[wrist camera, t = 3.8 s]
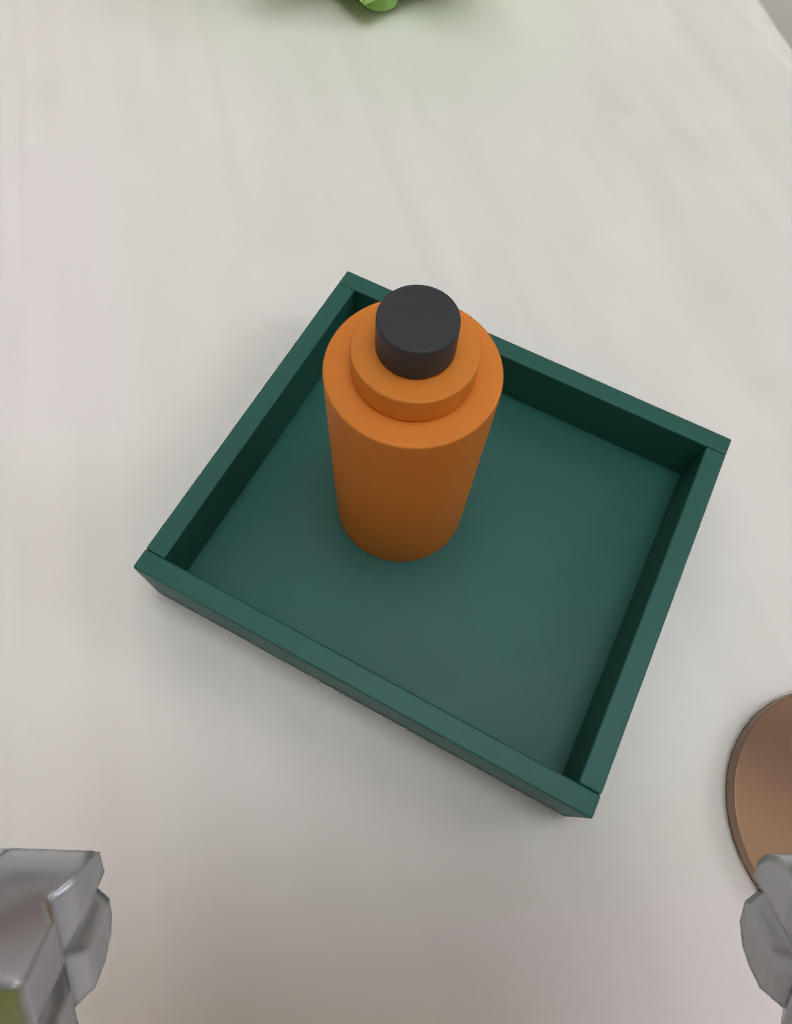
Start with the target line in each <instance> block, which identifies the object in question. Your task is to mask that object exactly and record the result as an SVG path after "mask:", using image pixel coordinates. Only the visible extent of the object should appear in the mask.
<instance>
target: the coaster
mask: <svg viewBox="0 0 792 1024" xmlns="http://www.w3.org/2000/svg"><path fill="white" fill-rule="evenodd" d="M726 793H727V809H728V815H729V822H730V826H731V830H732V833H733V837H734V841H735V843H736V846H737V848H738V851H739V854H740V856H741V859H742V861H743V863H744V865H745V867H746V868H747V870H748V872H749V874H750V876H751V878H752V879H753V881H754V882H755V884H756V885H757V887H758V889H761V888H760V887H759V885H758V883H757V882H756V880H755V878H754V876H753V874H754V871H755V868H756V865H757V862H758V860H759V859H760V858H762V857H763V856H764V855H765V854H788V853H792V694H791V695H787V696H785V697H782V698H780V699H778V700H776V701H774V702H772V703H771V704H769V705H768V706H766V707H765V708H763V709H762V710H761V711H760V712H759V713H757V714H756V715H755V716H754V717H753V718H752V719H751V721H750V722H749V723H748V724H747V726H746V727H745V728H744V730H743V732H742V733H741V735H740V737H739V739H738V740H737V742H736V745H735V748H734V750H733V753H732V756H731V760H730V764H729V768H728V775H727V786H726Z"/></svg>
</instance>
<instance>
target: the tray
mask: <svg viewBox="0 0 792 1024" xmlns="http://www.w3.org/2000/svg"><path fill="white" fill-rule="evenodd" d="M391 292H392V290H389V289H387V288H385V287H382V286H380V285H378V284H376V283H373V282H371V281H369V280H367V279H364V278H362V277H360V276H357V275H355V274H353V273H351V272H347V273H346V274H345V276H344V277H343V278H342V280H341V281H340V282H339V284H338V285H337V287H336V288H335V289H334V291H333V292H332V293H331V295H330V296H329V298H328V299H327V300H326V302H325V303H324V304H323V306H322V307H321V309H320V310H319V311H318V313H317V314H316V315H315V317H314V318H313V320H312V321H311V322H310V324H309V325H308V326H307V328H306V329H305V331H304V332H303V333H302V335H301V336H300V338H299V339H298V340H297V342H296V343H295V344H294V346H293V347H292V349H291V350H290V351H289V353H288V354H287V355H286V357H285V358H284V360H283V361H282V362H281V364H280V365H279V366H278V368H277V369H276V371H275V372H274V373H273V375H272V376H271V377H270V379H269V380H268V382H267V383H266V384H265V386H264V387H263V388H262V390H261V391H260V393H259V394H258V395H257V397H256V398H255V400H254V401H253V402H252V404H251V405H250V406H249V408H248V409H247V411H246V412H245V413H244V415H243V416H242V417H241V419H240V420H239V422H238V423H237V424H236V426H235V427H234V428H233V430H232V431H231V433H230V434H229V435H228V437H227V438H226V439H225V441H224V442H223V444H222V445H221V446H220V448H219V449H218V450H217V452H216V453H215V455H214V456H213V457H212V459H211V460H210V462H209V463H208V464H207V466H206V467H205V468H204V470H203V471H202V473H201V474H200V475H199V477H198V478H197V479H196V481H195V482H194V484H193V485H192V486H191V488H190V489H189V490H188V492H187V493H186V495H185V496H184V497H183V499H182V500H181V501H180V503H179V504H178V506H177V507H176V508H175V510H174V511H173V512H172V514H171V515H170V517H169V518H168V519H167V521H166V522H165V523H164V525H163V526H162V528H161V529H160V530H159V532H158V533H157V535H156V536H155V537H154V539H153V540H152V541H151V543H150V544H149V546H148V547H147V550H145V551H144V553H143V554H142V556H141V557H140V558H139V560H138V561H137V562H136V564H135V565H134V568H135V569H136V570H137V571H138V572H139V573H140V574H141V575H142V576H143V577H144V578H145V579H146V580H147V581H148V582H149V583H150V584H151V585H152V586H153V587H154V588H155V589H156V590H157V591H158V592H160V593H161V594H163V595H165V596H167V597H169V598H171V599H172V600H174V601H176V602H178V603H180V604H181V605H183V606H185V607H187V608H189V609H190V610H192V611H194V612H196V613H198V614H200V615H201V616H203V617H205V618H207V619H209V620H210V621H212V622H214V623H216V624H218V625H219V626H221V627H223V628H225V629H227V630H228V631H230V632H232V633H234V634H236V635H238V636H239V637H241V638H243V639H245V640H247V641H248V642H250V643H252V644H254V645H256V646H257V647H259V648H261V649H263V650H265V651H267V652H268V653H270V654H272V655H274V656H276V657H277V658H279V659H281V660H283V661H285V662H286V663H288V664H290V665H292V666H294V667H296V668H297V669H299V670H301V671H303V672H305V673H306V674H308V675H310V676H312V677H314V678H315V679H317V680H319V681H321V682H323V683H325V684H326V685H328V686H330V687H332V688H334V689H335V690H337V691H339V692H341V693H343V694H344V695H346V696H348V697H350V698H352V699H353V700H355V701H357V702H359V703H361V704H363V705H364V706H366V707H368V708H370V709H372V710H373V711H375V712H377V713H379V714H381V715H382V716H384V717H386V718H388V719H390V720H392V721H393V722H395V723H397V724H399V725H401V726H402V727H404V728H406V729H408V730H410V731H411V732H413V733H415V734H417V735H419V736H421V737H422V738H424V739H426V740H428V741H430V742H431V743H433V744H435V745H437V746H439V747H440V748H442V749H444V750H446V751H448V752H450V753H451V754H453V755H455V756H457V757H459V758H460V759H462V760H464V761H466V762H468V763H469V764H471V765H473V766H475V767H477V768H479V769H480V770H482V771H484V772H486V773H488V774H489V775H491V776H493V777H495V778H497V779H498V780H500V781H502V782H504V783H506V784H507V785H509V786H511V787H513V788H515V789H517V790H518V791H520V792H522V793H524V794H526V795H527V796H529V797H531V798H533V799H535V800H536V801H538V802H540V803H542V804H544V805H546V806H547V807H549V808H551V809H553V810H555V811H556V812H558V813H560V814H562V815H564V816H569V817H581V818H592V817H593V815H594V812H595V809H596V807H597V804H598V801H599V798H600V795H599V794H601V793H602V790H603V788H604V785H605V782H606V779H607V777H608V774H609V771H610V769H611V766H612V763H613V760H614V758H615V755H616V752H617V750H618V747H619V744H620V741H621V739H622V736H623V733H624V730H625V728H626V725H627V722H628V720H629V717H630V714H631V711H632V709H633V706H634V703H635V700H636V698H637V695H638V692H639V690H640V687H641V684H642V681H643V679H644V676H645V673H646V670H647V668H648V665H649V662H650V660H651V657H652V654H653V651H654V649H655V646H656V643H657V641H658V638H659V635H660V632H661V630H662V627H663V624H664V621H665V619H666V616H667V613H668V611H669V608H670V605H671V602H672V600H673V597H674V594H675V591H676V589H677V586H678V583H679V581H680V578H681V575H682V572H683V570H684V567H685V564H686V561H687V559H688V556H689V553H690V551H691V548H692V545H693V542H694V540H695V537H696V534H697V532H698V529H699V526H700V523H701V521H702V518H703V515H704V512H705V510H706V507H707V504H708V502H709V499H710V496H711V493H712V491H713V488H714V485H715V482H716V480H717V477H718V474H719V472H720V469H721V466H722V463H723V461H724V458H725V455H726V453H727V450H728V447H729V445H730V442H731V440H730V439H729V438H726V437H724V436H722V435H719V434H717V433H715V432H713V431H710V430H708V429H706V428H703V427H701V426H699V425H697V424H694V423H692V422H690V421H688V420H685V419H683V418H681V417H678V416H676V415H674V414H672V413H669V412H667V411H665V410H663V409H660V408H658V407H656V406H653V405H651V404H649V403H647V402H644V401H642V400H640V399H637V398H635V397H633V396H631V395H628V394H626V393H624V392H622V391H619V390H617V389H615V388H612V387H610V386H608V385H606V384H603V383H601V382H599V381H596V380H594V379H592V378H590V377H587V376H585V375H583V374H581V373H578V372H576V371H574V370H571V369H569V368H567V367H565V366H562V365H560V364H558V363H556V362H553V361H551V360H549V359H546V358H544V357H542V356H540V355H537V354H535V353H533V352H530V351H528V350H526V349H524V348H521V347H519V346H517V345H515V344H512V343H510V342H508V341H505V340H503V339H501V338H499V337H496V336H494V335H492V334H489V333H488V334H489V335H490V337H491V338H492V340H493V341H494V343H495V345H496V347H497V349H498V352H499V354H500V357H501V361H502V366H503V378H504V379H503V388H502V392H501V396H500V399H499V402H498V405H497V408H496V411H495V415H494V418H493V421H492V424H491V427H490V430H489V433H488V436H487V439H486V442H485V445H484V449H483V452H482V455H481V458H480V461H479V464H478V467H477V470H476V473H475V476H474V479H473V483H472V486H471V489H470V492H469V495H468V498H467V501H466V504H465V507H464V510H463V513H462V517H461V520H460V523H459V525H458V527H457V530H456V531H455V533H454V535H453V536H452V537H451V539H450V540H449V541H448V542H447V543H446V544H445V545H444V546H443V547H442V548H441V549H439V550H438V551H436V552H435V553H433V554H431V555H429V556H427V557H424V558H421V559H417V560H413V561H404V562H400V561H389V560H384V559H381V558H378V557H375V556H373V555H371V554H369V553H367V552H366V551H364V550H362V549H361V548H360V547H359V546H357V545H356V544H355V543H354V542H353V541H352V540H351V539H350V537H349V536H348V535H347V533H346V532H345V530H344V528H343V526H342V523H341V521H340V518H339V513H338V507H337V498H336V489H335V481H334V472H333V463H332V454H331V446H330V437H329V428H328V419H327V410H326V402H325V393H324V384H323V372H322V370H323V360H324V356H325V352H326V349H327V347H328V344H329V342H330V340H331V339H332V337H333V335H334V334H335V332H336V331H337V330H338V329H339V327H340V326H341V325H342V324H343V323H344V322H345V321H346V320H347V319H348V318H350V317H351V316H352V315H354V314H355V313H357V312H358V311H360V310H362V309H364V308H366V307H368V306H370V305H372V304H375V303H378V302H381V301H382V300H383V299H384V298H385V297H386V296H387V295H388V294H389V293H391Z"/></svg>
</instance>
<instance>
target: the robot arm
mask: <svg viewBox="0 0 792 1024" xmlns="http://www.w3.org/2000/svg"><path fill="white" fill-rule="evenodd" d="M103 874H104V868H103V864H102V859H101V855H100V852H96V851H81V850H52V849H22V848H0V1024H78V1020H77V1016H76V1011H75V1006H77V1005H78V1004H79V1003H80V1002H81V1001H82V1000H83V999H84V998H85V997H86V996H87V995H88V994H89V993H90V992H91V991H92V990H93V989H94V988H96V985H97V982H98V980H99V977H100V974H101V972H102V969H103V966H104V963H105V960H106V956H107V951H108V946H109V941H110V937H111V924H112V912H111V906H110V899H109V898H108V897H107V896H106V895H105V894H104V893H102V892H101V891H100V890H99V889H98V886H99V883H100V881H101V879H102V877H103ZM753 876H754V878H755V880H756V882H757V883H758V885H759V887H760V888H761V889H759V890H758V891H757V892H756V893H754V894H753V895H752V896H751V897H750V898H748V899H747V900H746V901H745V903H744V907H743V910H742V914H741V918H740V928H741V938H742V946H743V949H744V952H745V955H746V958H747V961H748V965H749V967H750V969H751V971H752V973H753V975H754V977H755V979H756V981H757V983H758V985H759V987H760V988H761V989H762V990H763V991H764V992H765V993H766V994H767V995H769V996H770V997H771V998H772V999H773V1000H774V1001H776V1002H777V1003H778V1004H779V1005H780V1006H781V1007H782V1008H783V1011H782V1019H781V1024H792V853H788V854H765V855H764V856H763V857H762V858H760V859H759V860H758V862H757V865H756V868H755V871H754V874H753Z"/></svg>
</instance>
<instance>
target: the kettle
mask: <svg viewBox="0 0 792 1024" xmlns="http://www.w3.org/2000/svg"><path fill="white" fill-rule="evenodd" d="M359 1H360V2H361V3H363V5H364V6H365V7H367V8H368V9H370V10H373V11H380V12H382V11H388V10H391V9H392V8H394V7H395V6H396V5H397V0H359Z"/></svg>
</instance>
